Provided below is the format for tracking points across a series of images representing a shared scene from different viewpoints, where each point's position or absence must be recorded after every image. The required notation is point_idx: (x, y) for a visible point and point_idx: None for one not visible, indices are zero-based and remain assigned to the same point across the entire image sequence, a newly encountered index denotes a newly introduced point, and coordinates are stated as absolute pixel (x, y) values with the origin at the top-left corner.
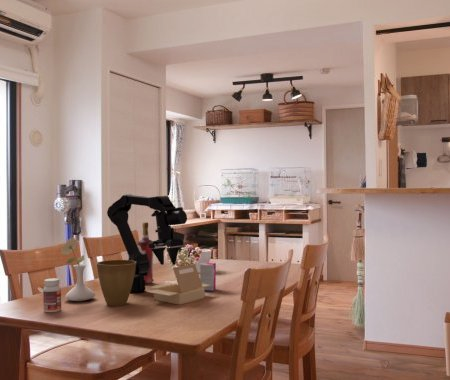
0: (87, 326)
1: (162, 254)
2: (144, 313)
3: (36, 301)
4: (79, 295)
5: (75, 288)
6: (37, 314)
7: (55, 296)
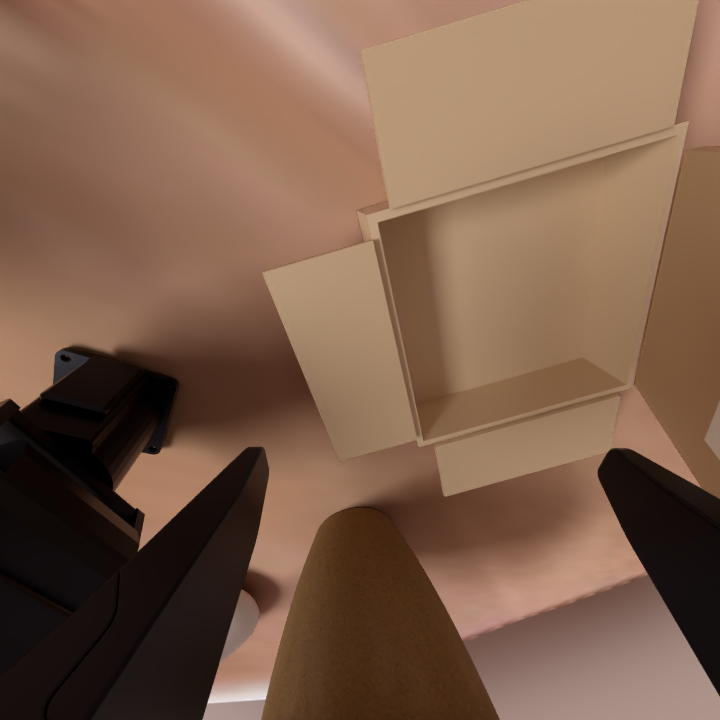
0: (525, 610)
1: (161, 659)
2: (552, 502)
3: None
4: (248, 636)
5: None
6: None
7: None
